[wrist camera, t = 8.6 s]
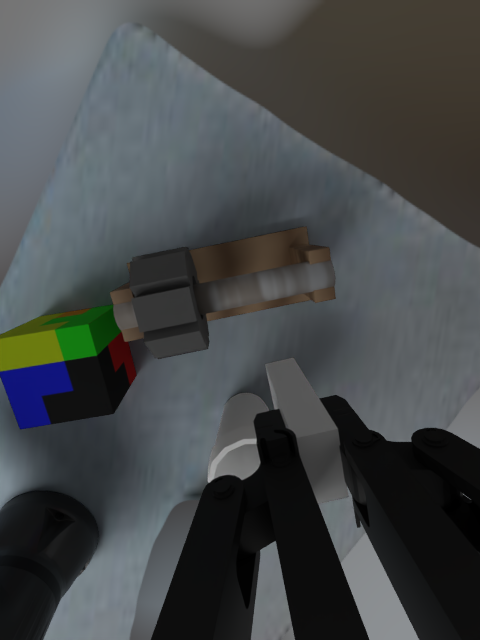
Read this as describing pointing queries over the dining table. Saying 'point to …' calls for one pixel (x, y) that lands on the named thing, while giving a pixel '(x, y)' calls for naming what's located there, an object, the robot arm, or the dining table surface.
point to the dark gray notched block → (168, 303)
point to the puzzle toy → (65, 367)
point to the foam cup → (237, 438)
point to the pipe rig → (248, 278)
